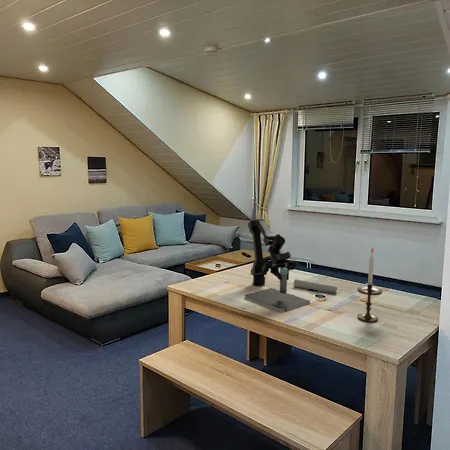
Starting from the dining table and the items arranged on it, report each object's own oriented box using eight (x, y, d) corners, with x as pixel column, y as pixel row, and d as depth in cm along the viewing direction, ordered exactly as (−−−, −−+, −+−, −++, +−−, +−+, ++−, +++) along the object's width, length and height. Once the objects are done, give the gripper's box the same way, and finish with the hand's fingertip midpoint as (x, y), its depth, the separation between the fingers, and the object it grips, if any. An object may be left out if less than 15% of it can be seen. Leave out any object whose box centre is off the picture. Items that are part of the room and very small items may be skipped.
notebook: (309, 304, 220) (271, 291, 242) (310, 300, 220) (271, 287, 241) (281, 313, 206) (243, 298, 228) (282, 309, 206) (243, 294, 227)
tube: (338, 285, 240) (297, 278, 252) (336, 284, 236) (294, 277, 248) (337, 294, 240) (296, 287, 252) (335, 294, 235) (293, 286, 247)
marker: (278, 293, 219) (279, 269, 217) (280, 291, 223) (281, 267, 221) (285, 293, 218) (286, 269, 216) (287, 291, 222) (288, 267, 220)
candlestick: (381, 324, 193) (387, 249, 188) (357, 322, 195) (361, 248, 190) (377, 315, 203) (382, 244, 198) (354, 314, 205) (358, 243, 200)
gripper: (264, 247, 217) (273, 273, 209) (296, 245, 224) (306, 270, 215) (258, 259, 226) (266, 284, 217) (289, 256, 232) (298, 281, 224)
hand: (284, 280), depth 218 cm, fingers closed on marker, 4 cm apart
